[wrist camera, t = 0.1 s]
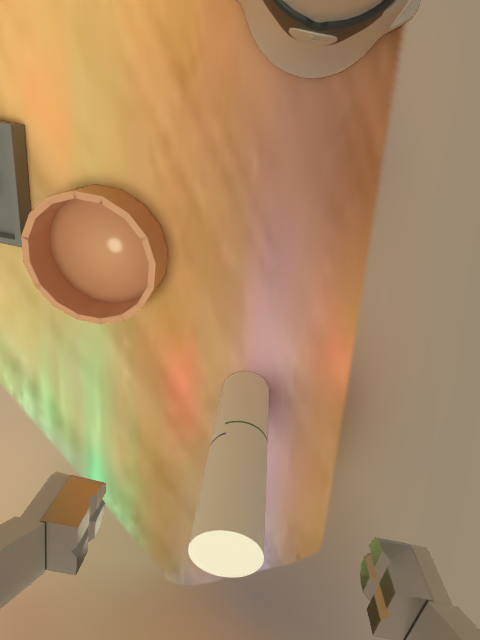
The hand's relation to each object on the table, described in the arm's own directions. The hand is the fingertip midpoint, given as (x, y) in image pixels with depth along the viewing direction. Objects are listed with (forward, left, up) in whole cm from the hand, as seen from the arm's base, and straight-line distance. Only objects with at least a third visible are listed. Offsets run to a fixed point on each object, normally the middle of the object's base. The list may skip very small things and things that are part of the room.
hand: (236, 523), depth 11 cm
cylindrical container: (+25, +2, -39) cm, 46 cm away
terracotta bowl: (+7, -20, -39) cm, 44 cm away
